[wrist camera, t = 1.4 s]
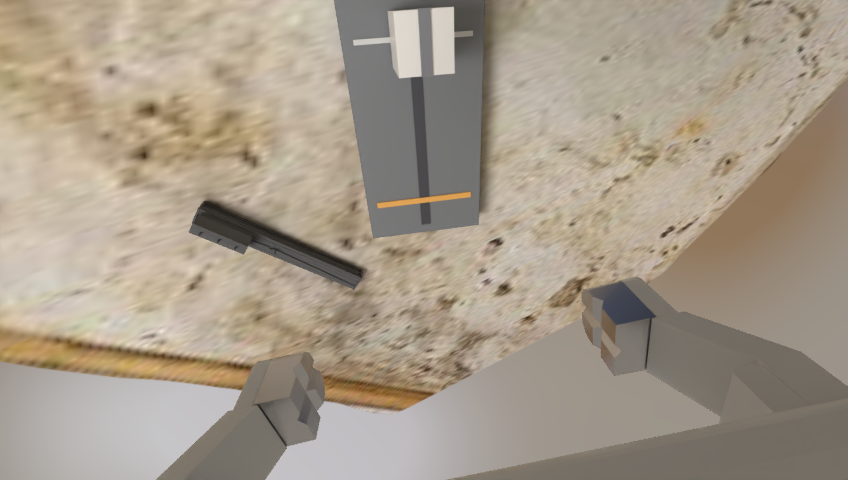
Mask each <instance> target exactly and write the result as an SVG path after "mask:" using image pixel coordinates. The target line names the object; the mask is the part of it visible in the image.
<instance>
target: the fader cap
mask: <svg viewBox="0 0 848 480" xmlns="http://www.w3.org/2000/svg"><path fill="white" fill-rule="evenodd" d="M387 12H388V22H389V32H390V42H391V52H392V63H393V68H394V70H395V72H396V74H397V75H398V77H399V78H409V77H433V75H443V74H454V73H455V60H454V7H437V8H419V9H410V10H396V11H387Z"/></svg>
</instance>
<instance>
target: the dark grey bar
mask: <svg viewBox="0 0 848 480" xmlns="http://www.w3.org/2000/svg"><path fill="white" fill-rule="evenodd" d="M189 233H192V234H194V235H197V236H199V237H202V238H204V239H207V240H209V241H212V242H214V243H217V244H219V245H222V246H224V247H227V248H229V249H232V250H234V251H237V252H239V253H242V254H244V253H245V251H246V249H247V247H248V246H249V247H252V248H254V249H257V250H259V251H262V252H264V253H266V254H269V255H271V256H274V257H276V258H279V259H281V260H284V261H286V262H288V263H291V264H293V265H296V266H298V267H301V268H303V269H306V270H308V271H310V272H313V273H315V274H318V275H320V276H323V277H325V278H327V279H330V280H332V281H335V282H337V283H340V284H342V285H345V286H347V287H349V288H352V289H353V290H354V289H355V287H356V286H357V285H358V283H359V282H360V281H361V279H362V270H360V269H357V268H355V267H353V266H351V265H348V264H346V263H344V262H342V261H339V260H337V259H335V258H332V257H330V256H328V255H326V254H323V253H321V252H319V251H316V250H314V249H312V248H310V247H307V246H305V245H303V244H301V243H298V242H296V241H294V240H291V239H289V238H287V237H285V236H282V235H280V234H278V233H275V232H273V231H271V230H269V229H266V228H264V227H262V226H260V225H257V224H255V223H253V222H250V221H248V220H246V219H244V218H241V217H239V216H237V215H234V214H232V213H230V212H228V211H225V210H223V209H221V208H219V207H216V206H214V205H212V204H209V203H207V202H206V201H204V202H203V203H202V204H201V206H200V207H199V208H198V210H197V212H196V214H195V216H194V219H193V221H192V226H191V228H190V231H189Z"/></svg>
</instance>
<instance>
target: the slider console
mask: <svg viewBox="0 0 848 480" xmlns="http://www.w3.org/2000/svg"><path fill="white" fill-rule="evenodd" d="M334 3H335V9H336V16H337V22H338V28H339V34H340V40H341V46H342V52H343V58H344V64H345V70H346V76H347V82H348V88H349V94H350V101H351V107H352V113H353V119H354V125H355V131H356V137H357V143H358V149H359V155H360V161H361V167H362V173H363V180H364V186H365V192H366V198H367V204H368V210H369V216H370V222H371V228H372V234H373V238H379V237H387V236H395V235H403V234H410V233H418V232H426V231H434V230H441V229H449V228H457V227H465V226H472V225H479V191H480V156H481V120H482V84H483V48H484V12H485V0H334ZM437 7H454V60H455V73H454V74H443V75H433V77H409V78H399V77H398V75H397V74H396V72H395V70H394V68H393V63H392V52H391V42H390V32H389V22H388V12H387V11H396V10H410V9H419V8H437Z"/></svg>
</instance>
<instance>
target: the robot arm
mask: <svg viewBox="0 0 848 480" xmlns="http://www.w3.org/2000/svg"><path fill="white" fill-rule="evenodd" d="M582 302H583V303H584V304H585V306H586V308H585V309H584V311H583V312H582V320H583V325H584V329H585V332H586V334H587V336H588V338H589V339H590V341H591V343H592V344H593V345H595V346H597V347H598V348H600V349H601V358H602V359H603V360H604V362H605V363H606V365H607V366H608V368H609V369H610V371H611V372H612V374H613V375H614V376H615V375H620V374H626V373H631V372H637V371H642V370H646V371H647V372H648V373H650V374H651V375H653V376H655V377H656V378H658V379H660V380H661V381H663V382H664V383H666V384H668V385H669V386H671V387H673V388H674V389H676V390H678V391H679V392H681V393H683V394H684V395H686V396H687V397H689V398H691V399H692V400H694V401H696V402H697V403H699V404H701V405H702V406H704V407H705V408H707V409H709V410H710V411H712V412H714V413H715V414H717V415H719V416H720V417H721V418H720V422H719V424H717V425H712V426H707V427H702V428H697V429H692V430H687V431H682V432H678V433H673V434H668V435H663V436H658V437H653V438H648V439H643V440H638V441H633V442H629V443H624V444H619V445H614V446H609V447H604V448H600V449H595V450H590V451H585V452H580V453H575V454H570V455H565V456H560V457H556V458H551V459H546V460H541V461H536V462H531V463H527V464H522V465H517V466H512V467H507V468H502V469H498V470H493V471H488V472H483V473H478V474H473V475H468V476H463V477H458V478H453V479H448V480H848V386H846V385H845V384H844V383H842V382H841V381H840V380H838V379H837V378H836V377H834V376H833V375H832V374H830V373H829V372H827V371H826V370H825V369H824V368H822V367H821V366H819V365H818V364H817V363H815V362H814V361H813V360H811V359H810V358H808V357H807V356H806V355H805V354H803V353H802V352H800V351H797V350H794V349H791V348H789V347H786V346H783V345H780V344H777V343H774V342H771V341H768V340H765V339H763V338H760V337H757V336H754V335H751V334H748V333H745V332H742V331H739V330H736V329H734V328H731V327H728V326H725V325H722V324H719V323H716V322H713V321H710V320H708V319H705V318H702V317H699V316H696V315H693V314H690V313H687V312H679V313H678V312H677V311H676V310H675V309H674V308H673V307H672V306H670V304H668V303H667V302H666V301H665V300H664V299H663V298H662V297H661V296H659V294H658V293H656V292H655V291H654V290H653V289H652V288H651V287H650V286H648V284H647V283H645V282H644V281H643V280H642V279H641V278H639V277H633V278H629V279H625V280H621V281H618V282H613V283H609V284H605V285H600V286H596V287H592V288H587V289H583V292H582ZM313 362H314V360H313V358H312V356H311V355H310V353H308V352H302V353H297V354H292V355H287V356H282V357H277V358H274V359H269V360H264V361H259V362H257V363H256V364H255V365H254V366H253V368H252V370H251V372H250V374H249V377H248V379H247V381H246V383H245V385H244V387H243V390H242V392H241V394H240V396H239V399H238V401H237V403H236V405H235V407H234V410H232V411H228V412H227V413H226V414H225V415H224V416H222V417H221V418H220V419H219V421H217V422H216V423H215V424H214V425H213V426H212V427H211V428H210V429H209V430H208V431H207V432H206V433H205V434H204V435H203V436H201V437H200V438H199V439H198V440H197V441H196V442H195V443H194V444H193V445H192V446H191V447H190V448H189V449H188V450H187V451H186V452H185V453H184V454H183V455H181V456H180V457H179V459H177V460H176V461H175V462H174V463H173V464H172V465H171V466H170V467H169V468H168V469H167V470H166V471H165V472H164V473H163V474H161V476H159V477H158V478H157V479H156V480H265V479H266V478H267V476H268V475H269V473H270V472H271V470H272V469H273V467H274V466H275V465H276V463H277V462H278V460H279V459H280V457H281V456H282V454H283V453H284V451H285V450H286V449H287V447H286V446H290V445H294V444H298V443H302V442H306V441H310V440H315V439H316V436H317V431H318V426H319V421H320V416H319V414H318V412H317V410H318V409H319V408H320V407H321V405H322V404H323V402H324V396H325V386H324V381H323V377H322V375H321V373H320V371H319V370H317V369H315V368H313V367H312V366H313Z"/></svg>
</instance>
